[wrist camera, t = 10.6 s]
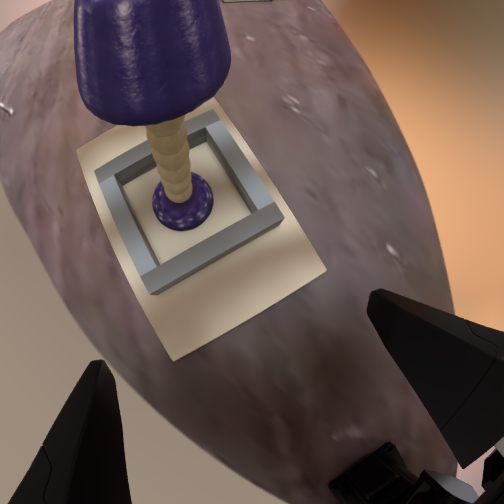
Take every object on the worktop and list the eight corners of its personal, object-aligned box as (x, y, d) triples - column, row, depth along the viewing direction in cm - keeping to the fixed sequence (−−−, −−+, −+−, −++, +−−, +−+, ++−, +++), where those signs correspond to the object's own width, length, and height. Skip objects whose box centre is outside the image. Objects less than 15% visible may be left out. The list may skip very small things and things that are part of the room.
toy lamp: (215, 167, 20) (223, -70, 4) (228, 229, 20) (265, -15, 3) (150, 180, 20) (57, -33, 3) (158, 243, 19) (0, 54, 3)
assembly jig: (323, 271, 20) (337, 266, 18) (174, 359, 18) (167, 368, 16) (204, 90, 22) (203, 68, 20) (79, 154, 20) (65, 138, 18)
